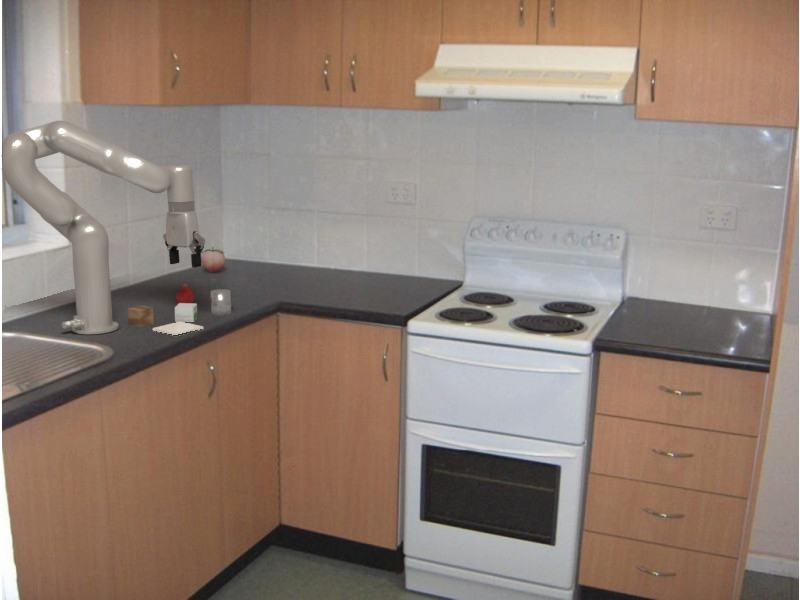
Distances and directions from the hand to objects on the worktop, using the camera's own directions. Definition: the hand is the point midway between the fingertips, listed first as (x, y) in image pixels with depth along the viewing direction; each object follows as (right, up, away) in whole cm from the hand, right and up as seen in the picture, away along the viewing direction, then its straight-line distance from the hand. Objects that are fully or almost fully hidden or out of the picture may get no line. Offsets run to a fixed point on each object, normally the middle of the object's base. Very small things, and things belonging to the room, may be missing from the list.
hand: (185, 265), depth 259 cm
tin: (+8, -14, +13) cm, 21 cm away
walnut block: (-13, -18, -1) cm, 22 cm away
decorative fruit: (-8, 0, +79) cm, 80 cm away
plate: (0, -19, -8) cm, 20 cm away
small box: (-1, -17, +3) cm, 17 cm away
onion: (-4, -13, +18) cm, 23 cm away
